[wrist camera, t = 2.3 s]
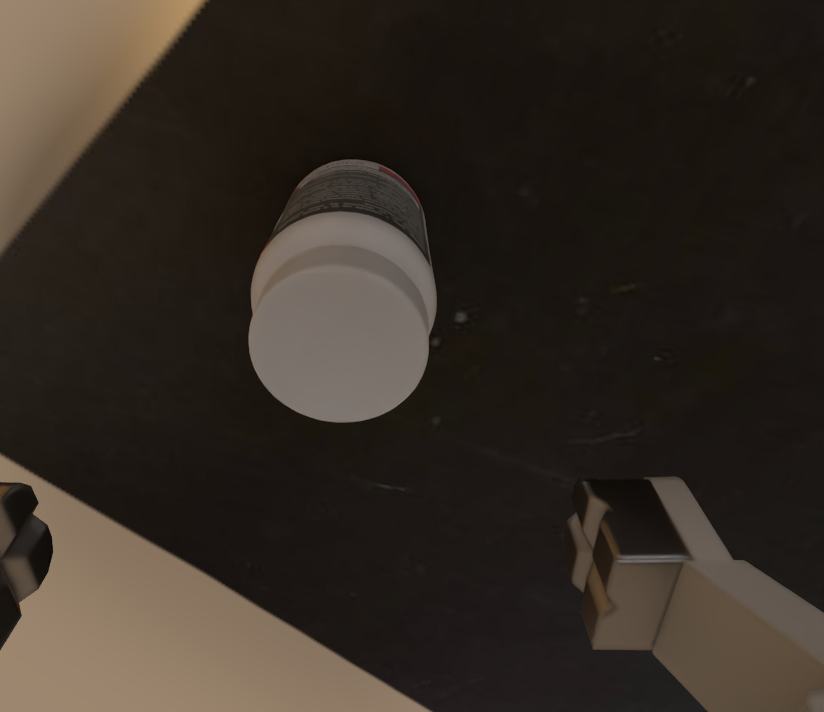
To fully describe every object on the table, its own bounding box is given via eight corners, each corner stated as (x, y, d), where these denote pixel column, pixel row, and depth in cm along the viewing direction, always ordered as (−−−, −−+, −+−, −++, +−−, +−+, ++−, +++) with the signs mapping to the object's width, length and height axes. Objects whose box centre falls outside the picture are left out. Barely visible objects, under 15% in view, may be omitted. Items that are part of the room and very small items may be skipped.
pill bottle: (265, 178, 19) (189, 280, 12) (405, 139, 19) (413, 221, 12) (313, 305, 22) (273, 454, 15) (439, 274, 21) (463, 411, 14)
